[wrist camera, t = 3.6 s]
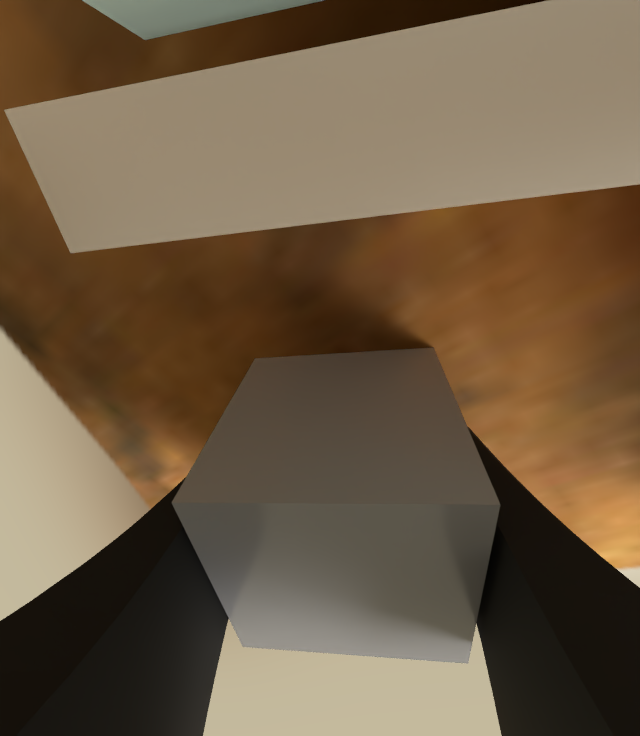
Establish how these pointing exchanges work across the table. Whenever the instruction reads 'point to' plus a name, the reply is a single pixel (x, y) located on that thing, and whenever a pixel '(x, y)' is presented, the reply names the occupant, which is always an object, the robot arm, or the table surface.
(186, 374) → the table surface
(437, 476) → the granite block
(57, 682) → the robot arm
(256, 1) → the trapdoor
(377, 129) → the frame
